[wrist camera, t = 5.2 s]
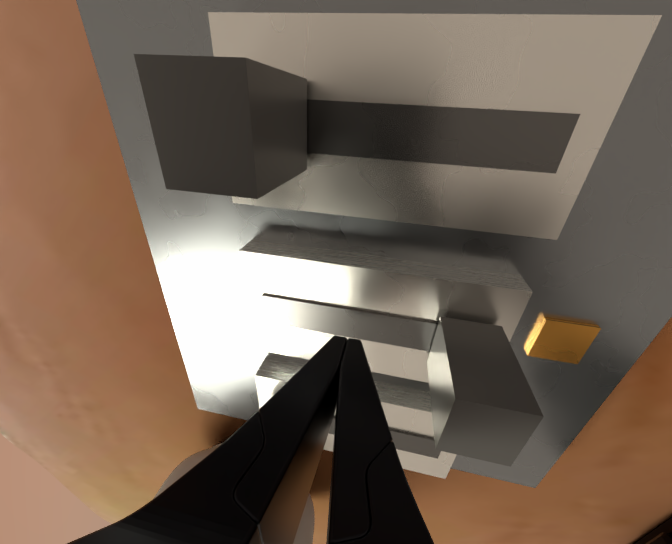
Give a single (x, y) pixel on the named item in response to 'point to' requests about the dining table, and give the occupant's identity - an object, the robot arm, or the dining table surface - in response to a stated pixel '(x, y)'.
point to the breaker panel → (419, 199)
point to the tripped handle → (479, 393)
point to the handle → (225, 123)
